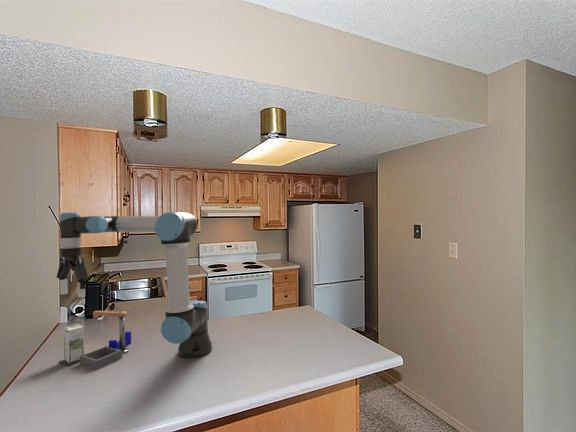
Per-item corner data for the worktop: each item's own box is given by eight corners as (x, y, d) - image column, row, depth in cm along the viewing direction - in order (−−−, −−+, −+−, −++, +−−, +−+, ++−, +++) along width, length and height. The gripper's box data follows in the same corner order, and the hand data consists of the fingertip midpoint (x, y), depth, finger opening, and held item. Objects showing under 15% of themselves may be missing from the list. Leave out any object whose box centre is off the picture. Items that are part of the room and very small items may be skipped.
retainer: (128, 317, 148) (128, 311, 148) (122, 320, 144) (122, 314, 144) (98, 316, 151) (98, 310, 151) (91, 318, 147) (91, 312, 147)
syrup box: (78, 355, 142) (78, 323, 142) (84, 358, 139) (83, 326, 139) (64, 360, 137) (63, 327, 137) (69, 363, 134) (68, 330, 134)
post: (130, 350, 147) (130, 315, 147) (121, 355, 143) (120, 318, 143) (124, 349, 149) (123, 314, 149) (114, 353, 145) (113, 317, 145)
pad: (88, 358, 140) (88, 357, 140) (69, 366, 133) (69, 365, 133) (78, 355, 144) (78, 354, 144) (58, 362, 136) (58, 361, 136)
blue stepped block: (123, 343, 157) (122, 331, 157) (131, 343, 156) (131, 331, 156) (106, 353, 145) (105, 341, 145) (114, 354, 144) (114, 341, 144)
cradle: (122, 358, 140) (121, 350, 140) (96, 369, 129) (96, 361, 129) (106, 353, 145) (105, 345, 145) (80, 364, 135) (80, 356, 135)
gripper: (96, 246, 136) (98, 295, 136) (64, 246, 147) (66, 291, 147) (78, 248, 129) (80, 299, 129) (46, 247, 141) (48, 294, 141)
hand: (72, 295), depth 138 cm, fingers open, 13 cm apart
